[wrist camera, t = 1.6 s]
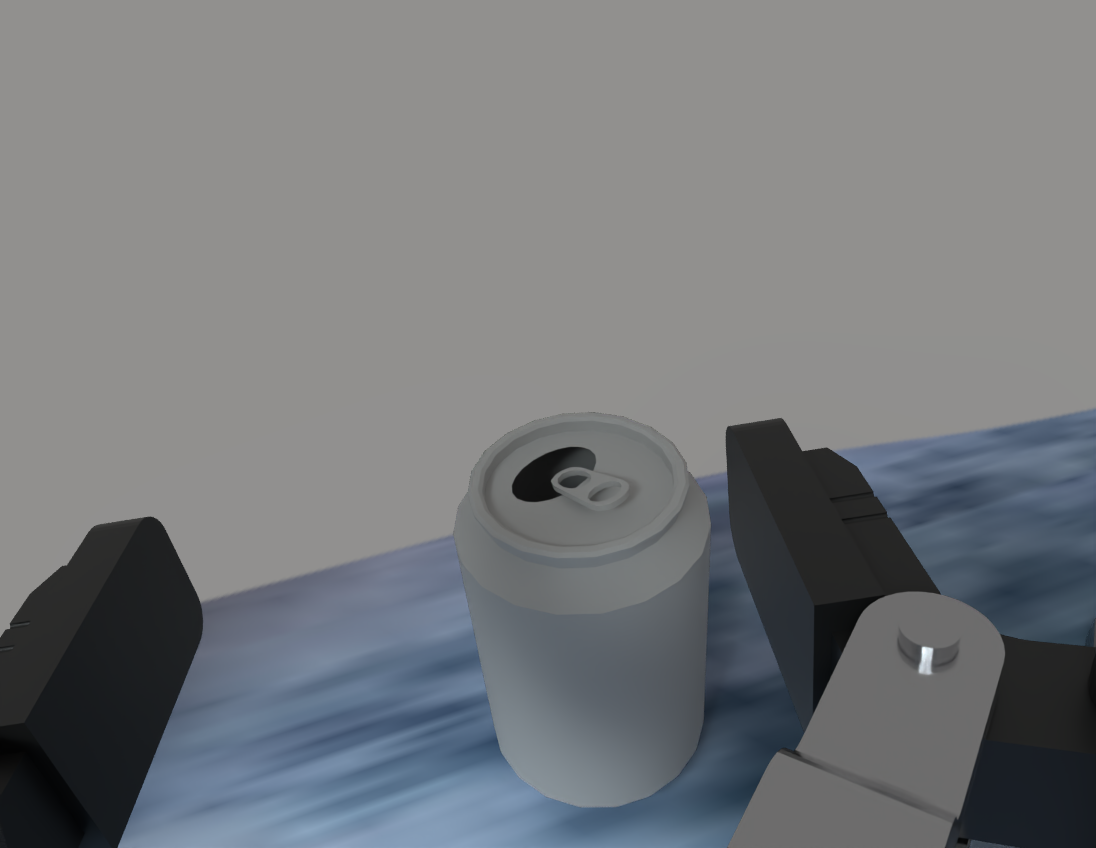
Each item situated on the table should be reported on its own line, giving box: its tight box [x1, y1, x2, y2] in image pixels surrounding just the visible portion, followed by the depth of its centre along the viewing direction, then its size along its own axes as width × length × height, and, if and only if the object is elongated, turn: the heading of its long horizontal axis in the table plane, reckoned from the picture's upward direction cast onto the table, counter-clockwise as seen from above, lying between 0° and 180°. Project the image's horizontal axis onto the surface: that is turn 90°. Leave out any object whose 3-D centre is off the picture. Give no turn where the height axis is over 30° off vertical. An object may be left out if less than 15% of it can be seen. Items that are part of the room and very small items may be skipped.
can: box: [453, 412, 711, 807], centre depth 27 cm, size 8×8×12 cm
